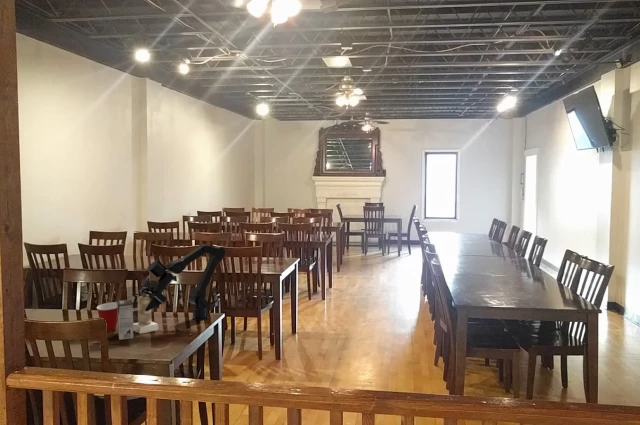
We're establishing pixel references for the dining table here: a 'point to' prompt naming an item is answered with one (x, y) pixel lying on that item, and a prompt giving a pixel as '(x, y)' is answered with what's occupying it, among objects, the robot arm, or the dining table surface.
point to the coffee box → (125, 319)
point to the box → (135, 315)
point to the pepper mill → (143, 315)
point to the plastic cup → (109, 314)
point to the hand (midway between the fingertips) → (141, 309)
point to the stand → (145, 327)
